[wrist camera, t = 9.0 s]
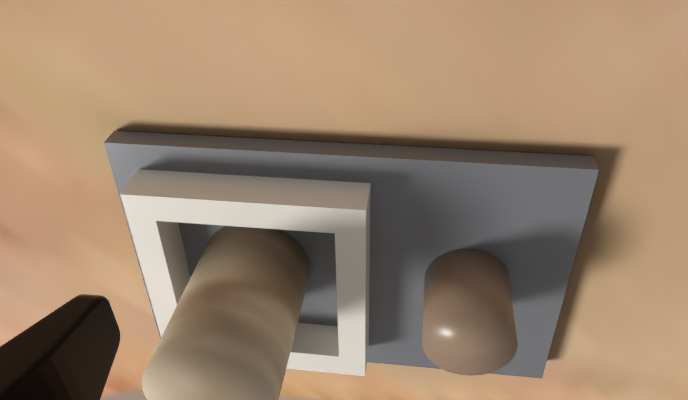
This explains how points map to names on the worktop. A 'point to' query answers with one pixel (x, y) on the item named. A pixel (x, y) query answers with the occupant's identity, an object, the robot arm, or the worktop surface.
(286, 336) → the beige rounded cylinder
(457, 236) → the board
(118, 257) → the worktop surface
